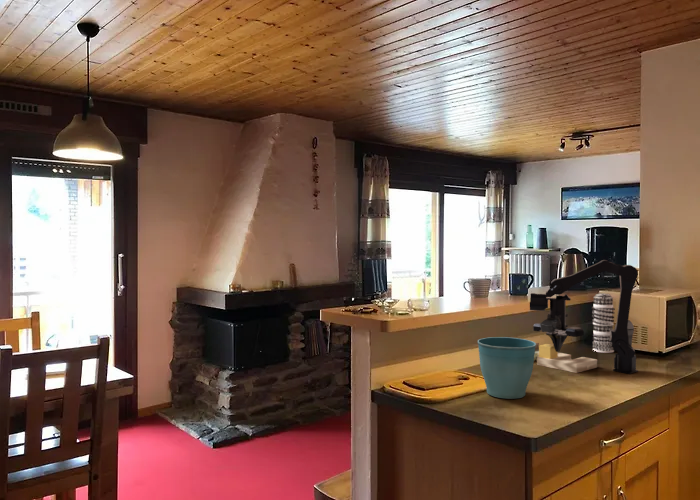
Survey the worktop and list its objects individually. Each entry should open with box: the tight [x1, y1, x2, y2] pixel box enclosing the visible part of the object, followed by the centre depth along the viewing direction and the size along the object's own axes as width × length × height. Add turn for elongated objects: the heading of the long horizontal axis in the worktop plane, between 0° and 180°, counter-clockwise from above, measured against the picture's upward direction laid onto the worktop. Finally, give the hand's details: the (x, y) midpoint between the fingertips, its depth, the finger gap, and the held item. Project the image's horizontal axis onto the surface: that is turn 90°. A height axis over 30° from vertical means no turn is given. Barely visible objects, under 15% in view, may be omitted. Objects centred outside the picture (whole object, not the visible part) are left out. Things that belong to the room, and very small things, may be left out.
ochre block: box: [539, 343, 559, 359], centre depth 221 cm, size 5×5×4 cm
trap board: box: [534, 342, 598, 374], centre depth 223 cm, size 27×14×6 cm, turn 36°
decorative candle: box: [591, 292, 615, 354], centre depth 246 cm, size 9×9×25 cm
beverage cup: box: [614, 319, 635, 347], centre depth 235 cm, size 7×7×20 cm
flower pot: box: [477, 336, 537, 400], centre depth 180 cm, size 18×18×17 cm
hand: (557, 351), depth 218 cm, fingers closed
